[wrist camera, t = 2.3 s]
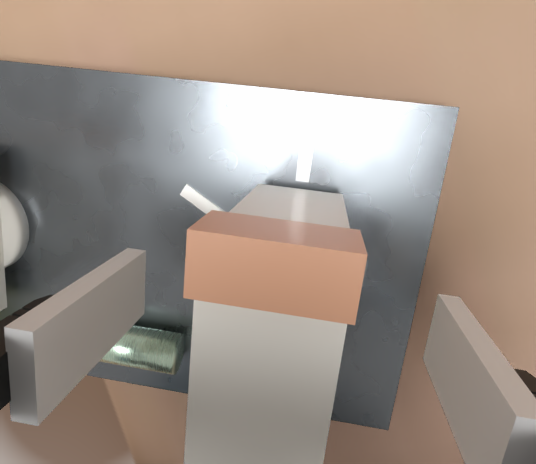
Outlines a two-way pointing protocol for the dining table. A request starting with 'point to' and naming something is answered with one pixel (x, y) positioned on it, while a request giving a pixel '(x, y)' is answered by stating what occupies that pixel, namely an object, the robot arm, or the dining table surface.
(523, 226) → the dining table surface
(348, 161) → the levelling base
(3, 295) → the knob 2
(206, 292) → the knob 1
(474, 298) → the dining table surface
